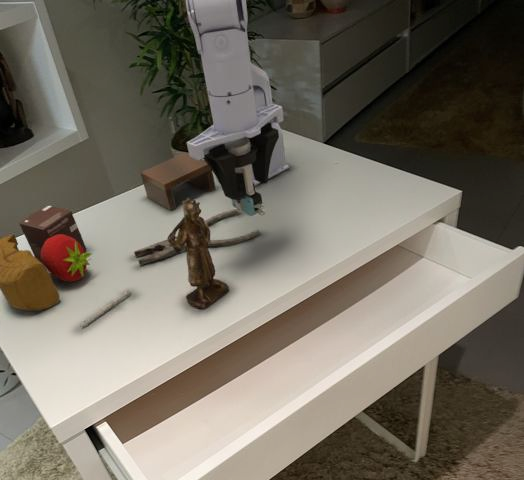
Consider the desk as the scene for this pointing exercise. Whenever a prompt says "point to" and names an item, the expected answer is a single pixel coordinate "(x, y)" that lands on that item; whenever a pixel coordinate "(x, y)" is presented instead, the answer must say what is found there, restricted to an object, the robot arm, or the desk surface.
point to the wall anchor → (104, 309)
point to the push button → (245, 177)
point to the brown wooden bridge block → (175, 178)
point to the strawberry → (64, 258)
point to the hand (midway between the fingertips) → (246, 189)
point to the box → (49, 228)
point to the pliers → (169, 249)
